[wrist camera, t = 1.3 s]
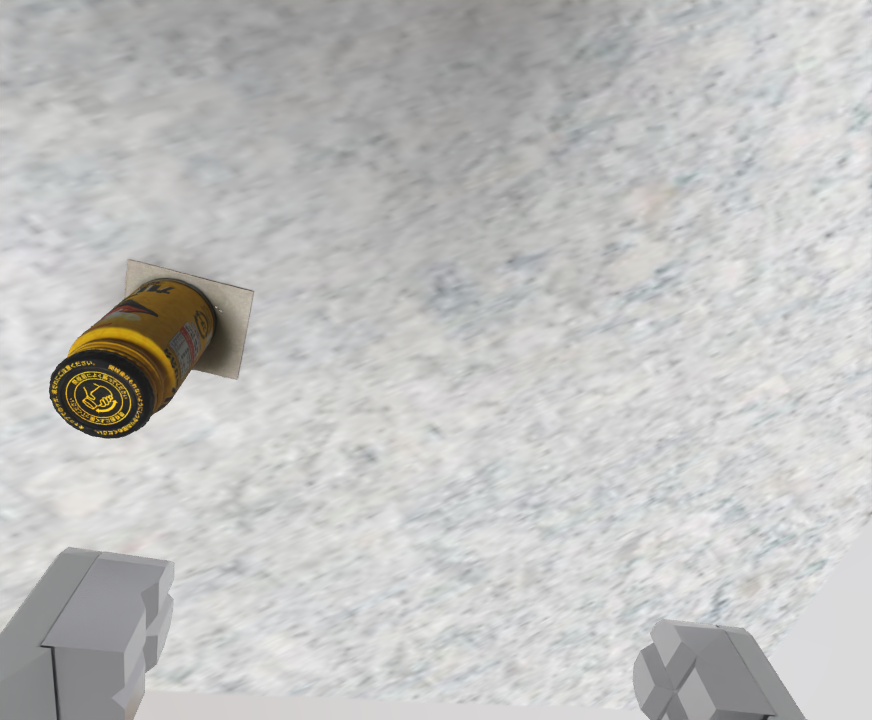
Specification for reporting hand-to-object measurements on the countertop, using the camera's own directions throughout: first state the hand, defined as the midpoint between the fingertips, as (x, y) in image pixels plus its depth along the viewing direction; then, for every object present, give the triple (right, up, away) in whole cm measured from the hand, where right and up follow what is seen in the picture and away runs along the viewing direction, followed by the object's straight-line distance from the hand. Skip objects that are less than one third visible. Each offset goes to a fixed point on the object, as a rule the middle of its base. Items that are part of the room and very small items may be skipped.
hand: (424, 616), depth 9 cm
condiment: (-18, +7, +32) cm, 37 cm away
